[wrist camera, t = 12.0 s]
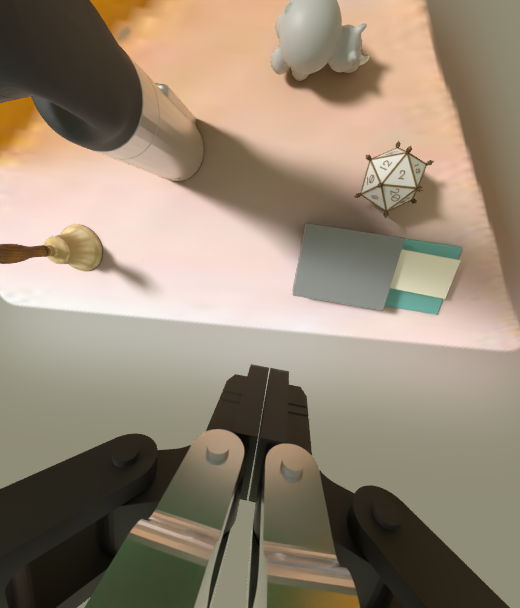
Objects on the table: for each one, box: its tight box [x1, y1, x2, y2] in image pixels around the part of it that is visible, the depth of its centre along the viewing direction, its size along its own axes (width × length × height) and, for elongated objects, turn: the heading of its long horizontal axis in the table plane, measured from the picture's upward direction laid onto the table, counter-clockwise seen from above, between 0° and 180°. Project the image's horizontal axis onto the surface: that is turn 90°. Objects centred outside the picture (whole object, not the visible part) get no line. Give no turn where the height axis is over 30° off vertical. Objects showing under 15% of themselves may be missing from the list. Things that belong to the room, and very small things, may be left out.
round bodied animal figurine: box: [271, 0, 370, 81], centre depth 32 cm, size 7×12×8 cm, turn 77°
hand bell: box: [0, 224, 102, 271], centre depth 39 cm, size 8×8×16 cm
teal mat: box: [385, 239, 462, 315], centre depth 41 cm, size 11×10×1 cm
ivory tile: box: [390, 249, 461, 299], centre depth 40 cm, size 6×9×2 cm, turn 80°
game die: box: [355, 141, 434, 218], centre depth 35 cm, size 9×8×10 cm
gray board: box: [293, 223, 405, 311], centre depth 41 cm, size 11×14×4 cm
